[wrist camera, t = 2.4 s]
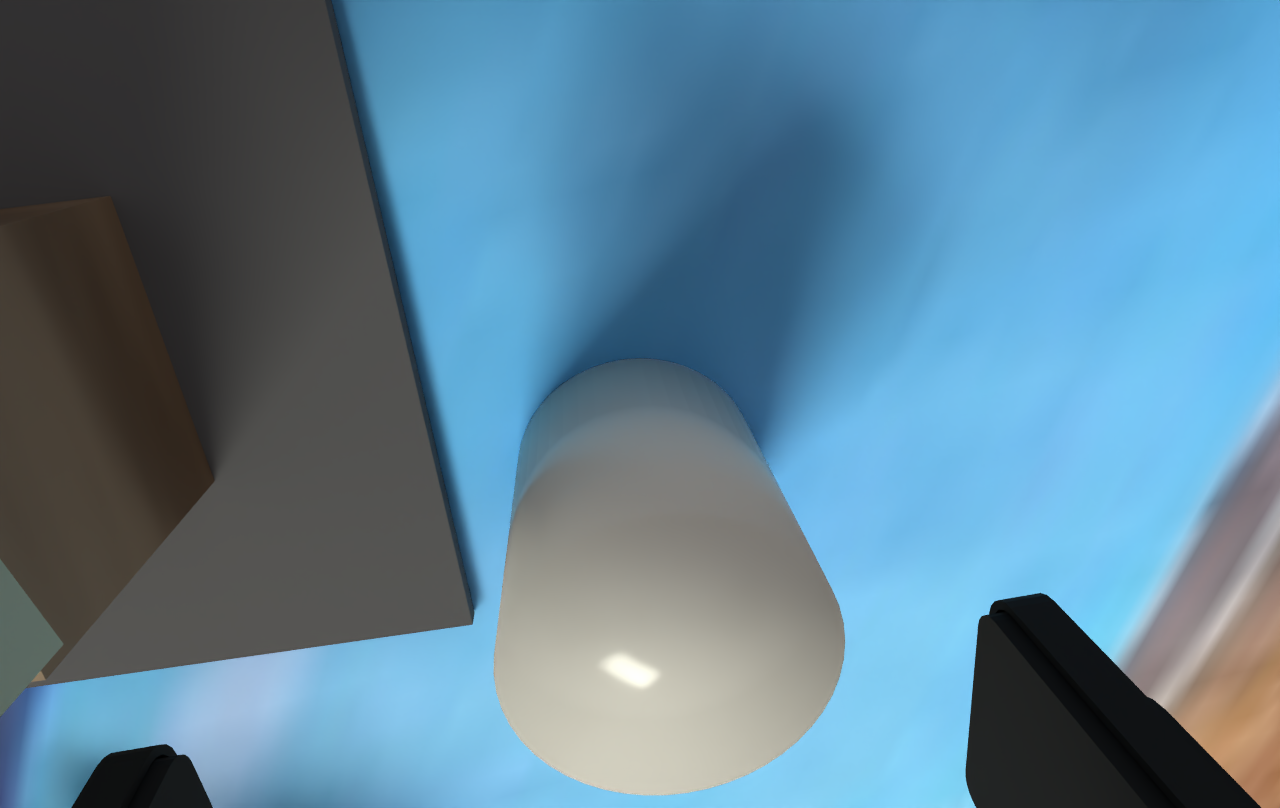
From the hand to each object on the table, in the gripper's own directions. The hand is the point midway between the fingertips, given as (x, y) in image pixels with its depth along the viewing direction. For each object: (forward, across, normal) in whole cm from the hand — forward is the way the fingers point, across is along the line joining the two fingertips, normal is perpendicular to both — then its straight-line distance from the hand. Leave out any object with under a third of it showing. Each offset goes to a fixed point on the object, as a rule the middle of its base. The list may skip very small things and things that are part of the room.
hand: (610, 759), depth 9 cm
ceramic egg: (+8, -1, 0) cm, 8 cm away
